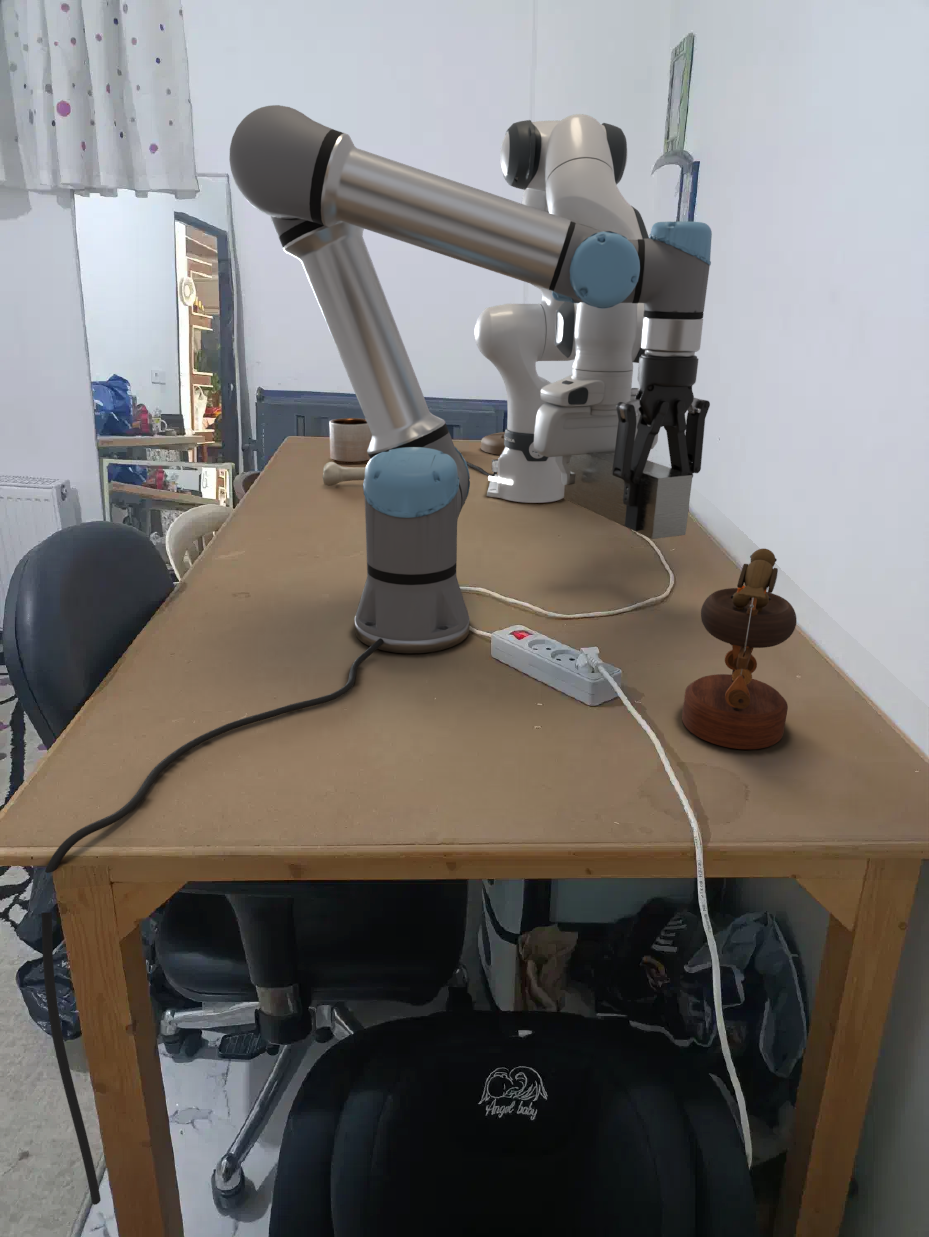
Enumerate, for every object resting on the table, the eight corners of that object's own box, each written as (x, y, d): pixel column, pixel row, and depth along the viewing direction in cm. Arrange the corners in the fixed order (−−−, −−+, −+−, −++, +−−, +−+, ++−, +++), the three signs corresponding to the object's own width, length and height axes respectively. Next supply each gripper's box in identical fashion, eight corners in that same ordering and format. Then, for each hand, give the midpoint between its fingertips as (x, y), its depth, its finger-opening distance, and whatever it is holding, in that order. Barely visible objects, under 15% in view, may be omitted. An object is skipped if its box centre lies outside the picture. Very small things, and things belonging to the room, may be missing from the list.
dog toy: (411, 480, 194) (411, 458, 192) (414, 486, 189) (414, 464, 187) (322, 482, 191) (321, 460, 189) (322, 488, 185) (321, 465, 184)
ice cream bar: (486, 465, 210) (486, 448, 209) (479, 444, 236) (479, 428, 235) (570, 465, 211) (571, 449, 210) (554, 444, 237) (554, 429, 236)
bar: (685, 535, 116) (692, 475, 113) (651, 539, 114) (658, 478, 111) (593, 495, 136) (597, 443, 133) (563, 498, 134) (567, 446, 131)
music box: (804, 761, 84) (822, 570, 76) (690, 761, 85) (697, 574, 78) (770, 691, 98) (782, 524, 90) (673, 692, 99) (677, 527, 92)
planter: (327, 456, 217) (325, 418, 214) (369, 454, 220) (368, 417, 217) (334, 465, 208) (332, 425, 204) (377, 463, 211) (376, 424, 207)
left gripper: (707, 349, 116) (688, 513, 125) (592, 352, 109) (580, 525, 118) (745, 354, 110) (721, 526, 119) (625, 357, 103) (609, 540, 112)
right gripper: (646, 384, 132) (638, 472, 137) (530, 389, 124) (526, 482, 129) (671, 389, 126) (662, 480, 131) (552, 394, 118) (547, 491, 124)
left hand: (651, 525), depth 118 cm, fingers closed on bar, 6 cm apart
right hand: (594, 481), depth 130 cm, fingers open, 8 cm apart
